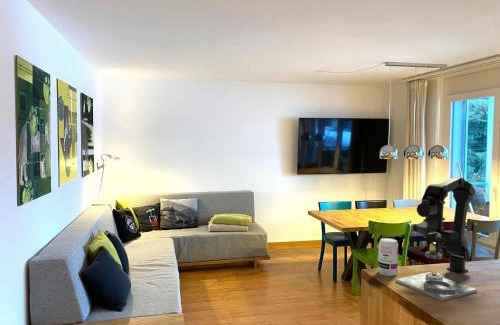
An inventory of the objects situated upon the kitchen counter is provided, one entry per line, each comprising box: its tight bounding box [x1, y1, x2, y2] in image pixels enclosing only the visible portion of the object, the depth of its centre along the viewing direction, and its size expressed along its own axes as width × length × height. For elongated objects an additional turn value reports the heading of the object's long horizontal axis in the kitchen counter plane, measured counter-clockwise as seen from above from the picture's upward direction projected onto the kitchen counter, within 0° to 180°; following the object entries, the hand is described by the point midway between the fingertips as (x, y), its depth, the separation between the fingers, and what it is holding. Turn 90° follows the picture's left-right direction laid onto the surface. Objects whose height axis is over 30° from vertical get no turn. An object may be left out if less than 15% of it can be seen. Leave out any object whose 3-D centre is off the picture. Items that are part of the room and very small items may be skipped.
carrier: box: [395, 271, 478, 302], centre depth 161 cm, size 20×22×4 cm
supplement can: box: [377, 237, 399, 277], centre depth 177 cm, size 8×8×15 cm
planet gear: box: [424, 241, 443, 260], centre depth 167 cm, size 6×6×6 cm
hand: (433, 251), depth 167 cm, fingers closed on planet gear, 3 cm apart
